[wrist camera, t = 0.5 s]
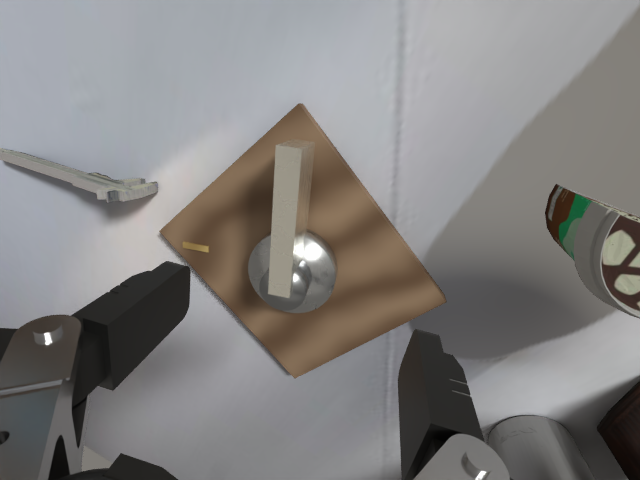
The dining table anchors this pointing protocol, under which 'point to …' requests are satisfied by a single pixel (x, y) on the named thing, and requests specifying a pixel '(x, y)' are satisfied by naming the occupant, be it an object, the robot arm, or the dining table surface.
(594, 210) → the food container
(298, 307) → the beige bar and knob
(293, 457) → the dining table surface
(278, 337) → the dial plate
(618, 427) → the dark brown wooden box
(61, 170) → the caliper
